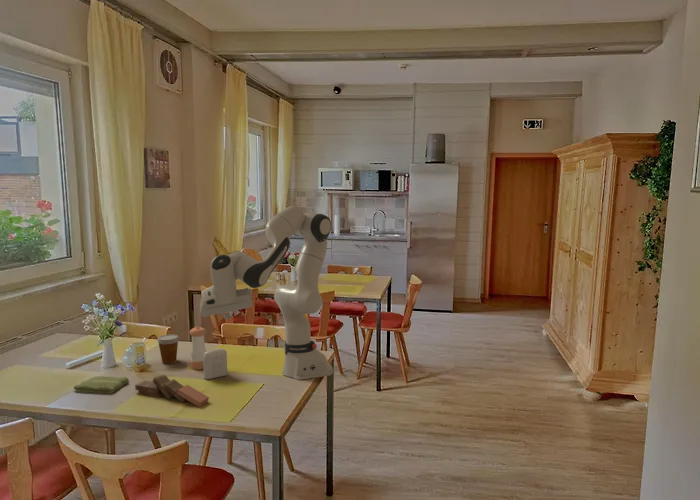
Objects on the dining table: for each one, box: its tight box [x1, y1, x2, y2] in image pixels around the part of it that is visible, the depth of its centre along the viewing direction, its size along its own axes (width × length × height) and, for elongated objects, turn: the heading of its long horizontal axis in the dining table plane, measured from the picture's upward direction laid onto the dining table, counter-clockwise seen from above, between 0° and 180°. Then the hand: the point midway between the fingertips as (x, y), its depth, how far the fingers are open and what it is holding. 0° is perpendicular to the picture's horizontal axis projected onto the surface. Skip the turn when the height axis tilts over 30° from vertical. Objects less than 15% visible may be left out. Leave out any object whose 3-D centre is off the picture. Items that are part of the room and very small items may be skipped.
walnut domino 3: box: [152, 374, 176, 400], centre depth 196 cm, size 2×5×11 cm
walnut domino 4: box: [163, 378, 188, 403], centre depth 193 cm, size 2×5×11 cm
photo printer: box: [203, 348, 228, 380], centre depth 215 cm, size 10×4×12 cm, turn 123°
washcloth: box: [73, 375, 130, 395], centre depth 204 cm, size 13×18×3 cm
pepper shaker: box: [189, 325, 207, 371], centre depth 226 cm, size 7×7×19 cm
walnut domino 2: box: [137, 390, 165, 399], centre depth 198 cm, size 2×5×11 cm
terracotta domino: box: [177, 384, 210, 407], centre depth 190 cm, size 2×5×11 cm
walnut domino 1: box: [134, 380, 161, 394], centre depth 199 cm, size 2×5×11 cm
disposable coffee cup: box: [157, 333, 180, 365], centre depth 233 cm, size 10×10×12 cm
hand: (228, 317), depth 198 cm, fingers closed
